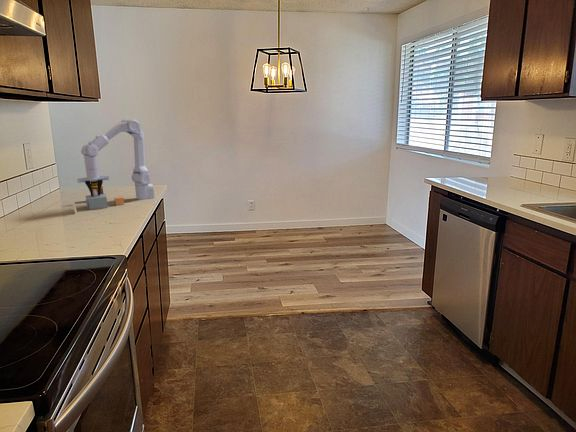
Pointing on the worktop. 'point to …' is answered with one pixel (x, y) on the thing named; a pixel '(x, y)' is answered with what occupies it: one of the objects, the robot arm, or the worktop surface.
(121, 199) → the block
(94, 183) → the condiment
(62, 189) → the worktop surface
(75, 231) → the worktop surface
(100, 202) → the cover
